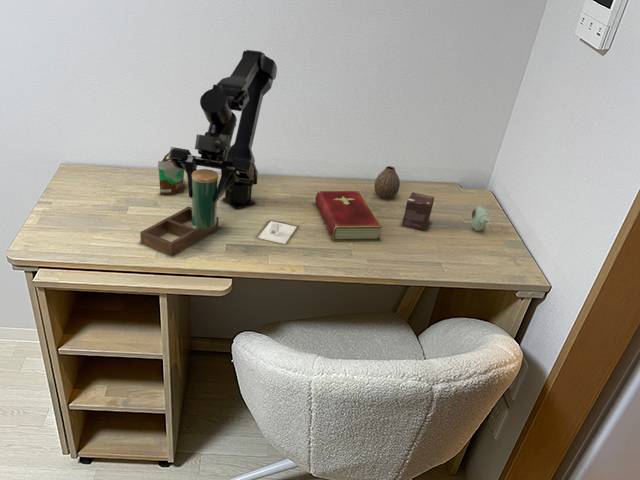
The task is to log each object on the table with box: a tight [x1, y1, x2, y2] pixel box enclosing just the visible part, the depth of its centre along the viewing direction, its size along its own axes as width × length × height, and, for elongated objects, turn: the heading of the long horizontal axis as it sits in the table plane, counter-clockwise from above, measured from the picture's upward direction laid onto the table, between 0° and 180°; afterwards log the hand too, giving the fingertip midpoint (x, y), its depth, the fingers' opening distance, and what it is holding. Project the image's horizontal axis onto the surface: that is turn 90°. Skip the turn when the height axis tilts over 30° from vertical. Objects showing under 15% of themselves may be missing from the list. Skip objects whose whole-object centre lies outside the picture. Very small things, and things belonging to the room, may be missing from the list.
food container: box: [157, 146, 185, 196], centre depth 169 cm, size 12×6×10 cm, turn 168°
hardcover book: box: [314, 190, 383, 242], centre depth 159 cm, size 12×21×4 cm, turn 6°
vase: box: [373, 165, 401, 201], centre depth 172 cm, size 7×7×9 cm
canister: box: [191, 168, 219, 229], centre depth 138 cm, size 6×6×12 cm
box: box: [402, 192, 435, 231], centre depth 159 cm, size 6×6×7 cm
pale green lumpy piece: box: [470, 205, 491, 232], centre depth 158 cm, size 8×4×7 cm, turn 175°
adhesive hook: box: [268, 221, 282, 236], centre depth 152 cm, size 3×3×3 cm
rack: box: [139, 206, 220, 257], centre depth 149 cm, size 18×10×3 cm, turn 145°
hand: (202, 199), depth 136 cm, fingers closed on canister, 5 cm apart
